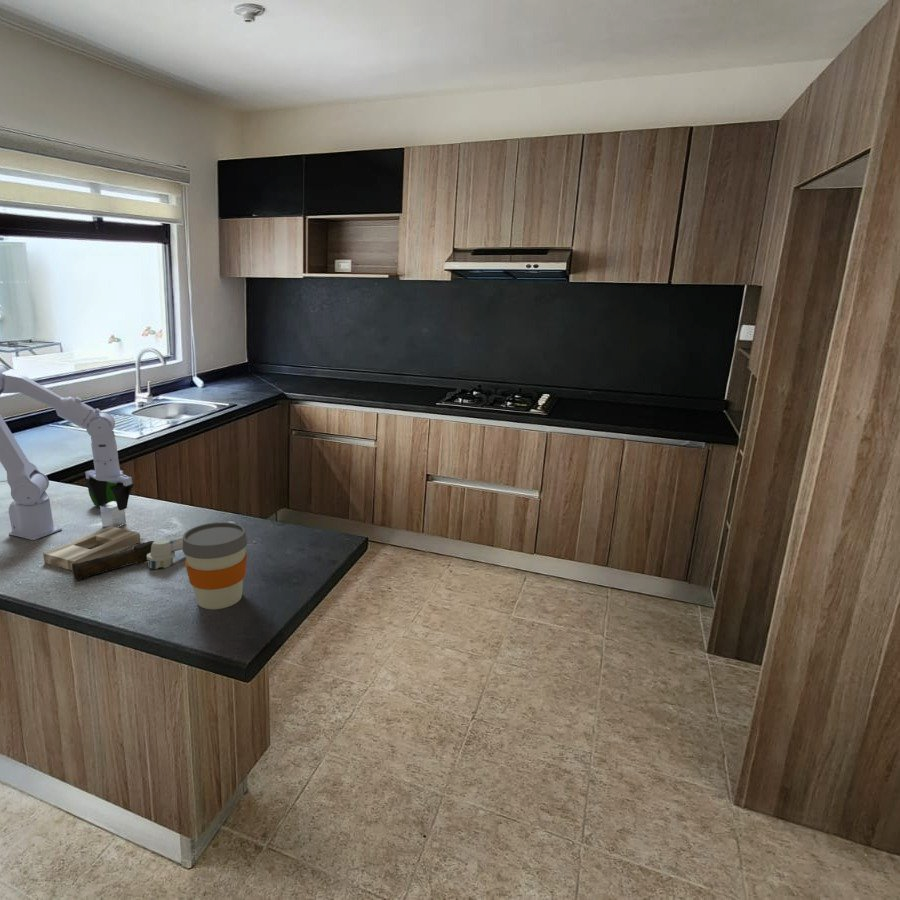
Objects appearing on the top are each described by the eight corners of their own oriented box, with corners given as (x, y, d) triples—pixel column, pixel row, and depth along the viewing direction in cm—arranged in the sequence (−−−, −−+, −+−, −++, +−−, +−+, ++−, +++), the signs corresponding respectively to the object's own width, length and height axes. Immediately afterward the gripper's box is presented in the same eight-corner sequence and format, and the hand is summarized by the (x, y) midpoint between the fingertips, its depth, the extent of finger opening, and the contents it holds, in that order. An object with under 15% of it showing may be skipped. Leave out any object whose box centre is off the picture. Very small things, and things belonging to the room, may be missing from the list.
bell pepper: (87, 503, 177) (82, 471, 174) (118, 497, 182) (114, 466, 179) (94, 512, 171) (89, 478, 168) (125, 505, 176) (121, 473, 173)
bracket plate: (44, 563, 140) (43, 553, 139) (111, 534, 156) (110, 526, 155) (75, 571, 136) (73, 561, 136) (140, 541, 152) (139, 532, 152)
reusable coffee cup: (231, 578, 135) (226, 517, 131) (262, 597, 128) (258, 533, 124) (176, 598, 126) (169, 533, 122) (206, 621, 118) (200, 551, 114)
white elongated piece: (241, 522, 157) (156, 543, 135) (240, 546, 158) (155, 571, 136) (227, 518, 160) (141, 538, 138) (226, 541, 161) (141, 565, 139)
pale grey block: (102, 526, 161) (99, 505, 159) (115, 521, 165) (112, 501, 163) (113, 529, 160) (110, 508, 158) (126, 523, 163) (123, 503, 162)
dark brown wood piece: (76, 584, 131) (73, 565, 130) (72, 577, 134) (69, 558, 133) (166, 560, 143) (165, 543, 142) (161, 554, 146) (159, 537, 145)
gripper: (139, 458, 158) (144, 506, 162) (99, 451, 163) (105, 498, 167) (116, 465, 152) (122, 514, 155) (75, 458, 157) (82, 506, 160)
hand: (112, 506), depth 161 cm, fingers open, 7 cm apart
